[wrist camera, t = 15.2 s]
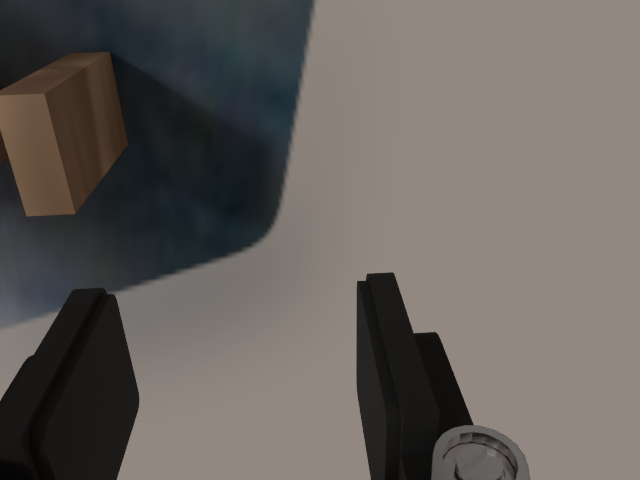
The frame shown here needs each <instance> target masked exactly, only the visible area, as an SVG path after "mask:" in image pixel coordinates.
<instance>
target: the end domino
mask: <svg viewBox="0 0 640 480" xmlns="http://www.w3.org/2000/svg"><path fill="white" fill-rule="evenodd" d="M0 130H1V134H2V137H3V140H4V144H5V147H6V150H7V153H8V157H9V160H10V163H11V167H12V170H13V173H14V177H15V180H16V183H17V187H18V190H19V193H20V196H21V200H22V203H23V206H24V210H25V213H26V216H46V215H67V214H76V213H77V211H78V210H79V209H80V207H81V206H82V205H83V203H84V202H85V201H86V199H87V198H88V197H89V195H90V194H91V193H92V191H93V190H94V189H95V188H96V186H97V185H98V184H99V182H100V181H101V180H102V178H103V177H104V176H105V174H106V173H107V172H108V170H109V169H110V168H111V166H112V165H113V164H114V163H115V161H116V160H117V159H118V157H119V156H120V155H121V153H122V152H123V151H124V149H125V148H126V147H127V145H128V142H127V137H126V131H125V126H124V121H123V116H122V111H121V106H120V101H119V96H118V91H117V85H116V80H115V75H114V70H113V65H112V60H111V55H110V51H108V52H82V53H69V54H68V55H66V56H64V57H62V58H60V59H58V60H56V61H54V62H53V63H51V64H49V65H47V66H45V67H43V68H41V69H39V70H38V71H36V72H34V73H32V74H30V75H28V76H26V77H25V78H23V79H21V80H19V81H17V82H15V83H13V84H11V85H10V86H8V87H6V88H4V89H2V90H0Z"/></svg>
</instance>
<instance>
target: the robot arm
mask: <svg viewBox="0 0 640 480" xmlns="http://www.w3.org/2000/svg"><path fill="white" fill-rule="evenodd" d="M357 393H358V401H359V407H360V413H361V419H362V426H363V432H364V438H365V445H366V451H367V457H368V463H369V470H370V476H371V480H530V474H529V467H528V464H527V461H526V458H525V455H524V454H523V452H522V451H521V450H520V448H519V447H518V446H517V444H515V443H514V442H513V441H512V440H511V439H509V438H508V437H507V436H506V435H503V434H501V433H499V432H498V431H495V430H493V429H490V428H486V427H482V426H474V425H473V422H472V420H471V417H470V415H469V412H468V409H467V407H466V404H465V402H464V399H463V396H462V394H461V391H460V389H459V386H458V384H457V381H456V379H455V376H454V373H453V371H452V368H451V365H450V363H449V360H448V358H447V355H446V353H445V350H444V347H443V345H442V343H441V340H440V338H439V336H438V334H437V333H436V332H430V333H413V330H412V327H411V324H410V321H409V318H408V315H407V312H406V309H405V306H404V303H403V299H402V296H401V294H400V290H399V287H398V284H397V281H396V278H395V275H394V273H374V274H367V277H366V281H357ZM138 408H139V392H138V388H137V383H136V379H135V375H134V371H133V367H132V362H131V358H130V354H129V350H128V345H127V342H126V338H125V333H124V329H123V324H122V320H121V316H120V312H119V308H118V304H117V300H116V297H115V295H113V294H108V295H107V292H106V291H105V289H104V288H90V289H75V290H73V291H72V292H71V294H70V296H69V297H68V299H67V301H66V302H65V304H64V306H63V307H62V309H61V311H60V312H59V314H58V316H57V317H56V319H55V320H54V322H53V324H52V325H51V327H50V329H49V331H48V332H47V334H46V336H45V337H44V339H43V340H42V342H41V344H40V345H39V347H38V349H37V350H36V352H35V354H34V355H32V356H30V357H28V358H27V359H26V361H25V362H24V363H23V365H22V367H21V368H20V370H19V371H18V373H17V375H16V376H15V378H14V380H13V381H12V383H11V384H10V386H9V388H8V389H7V391H6V392H5V394H4V396H3V397H2V399H1V401H0V480H117V476H118V473H119V470H120V467H121V463H122V460H123V457H124V454H125V451H126V447H127V444H128V441H129V438H130V435H131V431H132V428H133V425H134V421H135V418H136V415H137V412H138Z"/></svg>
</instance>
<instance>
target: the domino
mask: <svg viewBox="0 0 640 480" xmlns="http://www.w3.org/2000/svg"><path fill="white" fill-rule="evenodd" d="M0 90H1V88H0ZM7 158H8V153H7V150H6V147H5V144H4V140H3V137H2V134H1V130H0V164H1V163H2V162H3V161H5V160H6V159H7Z"/></svg>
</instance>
